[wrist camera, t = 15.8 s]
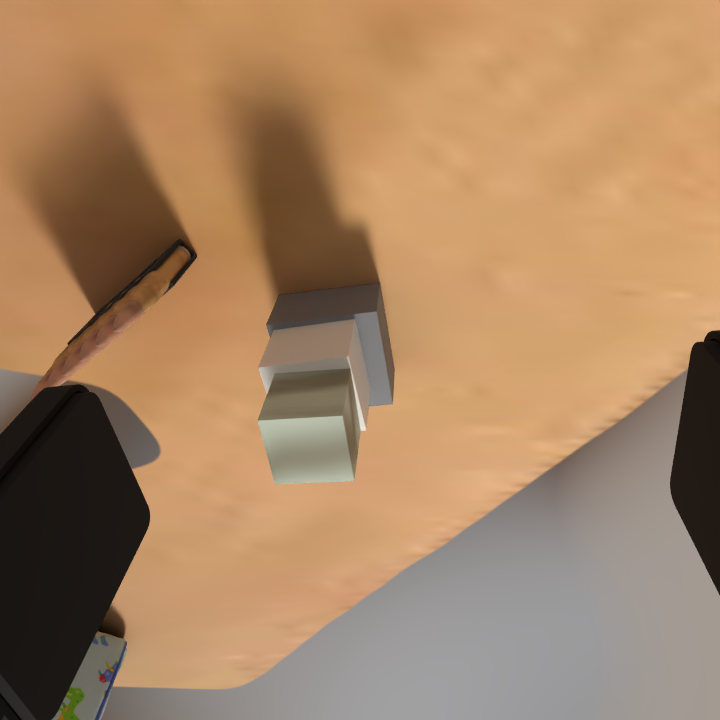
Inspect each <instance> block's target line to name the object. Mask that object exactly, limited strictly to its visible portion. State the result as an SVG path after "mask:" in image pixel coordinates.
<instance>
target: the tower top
mask: <svg viewBox="0 0 720 720" xmlns="http://www.w3.org/2000/svg"><path fill="white" fill-rule="evenodd" d="M348 368H351V374H352V380H353V387H354V393H355V399H356V405H357V411H358V417H359V423H360V429H361V430H360V431H364V430H366V427H367V419H368V410H369V401H370V392H371V387H370V383H369V378H368V374H367V369H366V365H365V361H364V356H363V352H362V347H361V343H360V338H359V334H358V330H357V325H356V321H355V319H351V320H343V321H336V322H329V323H322V324H315V325H308V326H300V327H293V328H286V329H279V330H273V333H272V335H271V338H270V340H269V343H268V345H267V347H266V350H265V352H264V355H263V357H262V360H261V362H260V364H259V367H258V369H259V372H260V375H261V378H262V381H263V384H264V387H265V390H266V393H267V394H268V391H269V388H270V385H271V382H272V380H273V377H274V374H275V373H289V372H304V371H319V370H333V369H348Z"/></svg>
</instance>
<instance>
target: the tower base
mask: <svg viewBox="0 0 720 720" xmlns="http://www.w3.org/2000/svg"><path fill="white" fill-rule="evenodd" d="M351 319H355V321H356V325H357V330H358V334H359V338H360V343H361V347H362V352H363V356H364V361H365V365H366V369H367V374H368V378H369V383H370V387H371V392H370V401H369V406H379V405H389V404H393V391H394V372H395V369H394V363H393V357H392V351H391V345H390V339H389V333H388V327H387V321H386V315H385V309H384V303H383V297H382V291H381V285H380V283H372V284H364V285H356V286H348V287H340V288H332V289H324V290H316V291H308V292H300V293H292V294H284V295H279V297H278V299H277V301H276V303H275V306H274V308H273V310H272V312H271V315H270V317H269V319H268V322H267V324H266V325H267V329H268V332H269V336H270V338H271V335H272V333H273V330H279V329H286V328H293V327H300V326H308V325H315V324H322V323H329V322H336V321H343V320H351Z"/></svg>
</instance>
